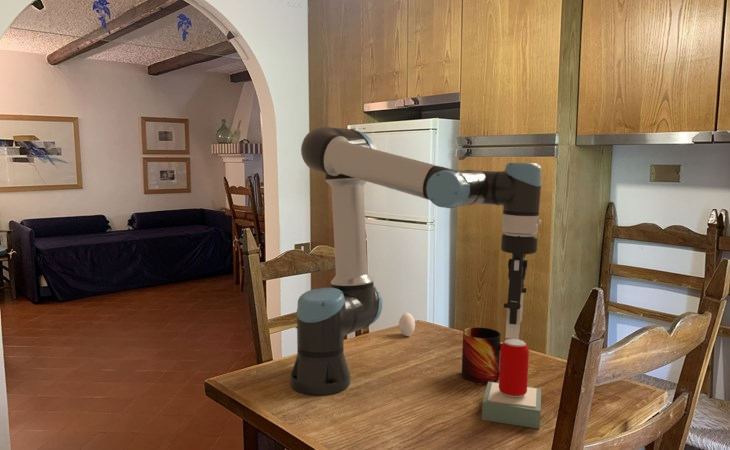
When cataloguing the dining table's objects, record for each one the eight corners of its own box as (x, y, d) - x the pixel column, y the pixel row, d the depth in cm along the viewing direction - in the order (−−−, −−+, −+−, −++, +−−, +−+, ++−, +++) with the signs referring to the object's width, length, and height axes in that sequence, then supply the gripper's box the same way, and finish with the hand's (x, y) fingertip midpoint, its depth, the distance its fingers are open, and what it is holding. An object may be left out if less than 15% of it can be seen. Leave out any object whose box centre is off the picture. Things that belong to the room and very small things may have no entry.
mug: (519, 385, 134) (521, 339, 133) (464, 384, 135) (465, 338, 134) (510, 371, 144) (512, 328, 143) (459, 369, 145) (460, 326, 143)
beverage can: (498, 397, 117) (500, 345, 115) (498, 386, 123) (500, 336, 121) (527, 401, 115) (530, 347, 114) (526, 389, 121) (528, 338, 120)
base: (481, 419, 116) (482, 400, 115) (487, 397, 127) (488, 380, 126) (539, 428, 112) (540, 409, 111) (540, 405, 123) (541, 387, 123)
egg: (418, 336, 172) (418, 313, 172) (404, 339, 170) (404, 316, 169) (408, 332, 177) (409, 310, 176) (395, 334, 174) (395, 312, 173)
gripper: (536, 243, 102) (530, 349, 105) (538, 228, 126) (533, 315, 128) (496, 240, 105) (491, 344, 107) (506, 226, 128) (501, 312, 130)
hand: (514, 329), depth 118 cm, fingers open, 13 cm apart
